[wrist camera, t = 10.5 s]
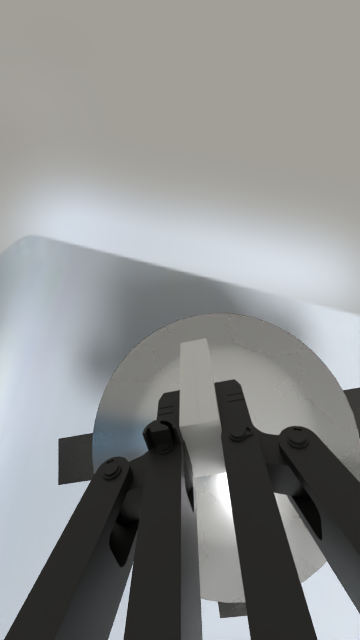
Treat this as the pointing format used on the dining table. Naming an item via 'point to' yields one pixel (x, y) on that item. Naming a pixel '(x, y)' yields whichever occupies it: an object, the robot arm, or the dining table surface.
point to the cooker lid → (266, 415)
